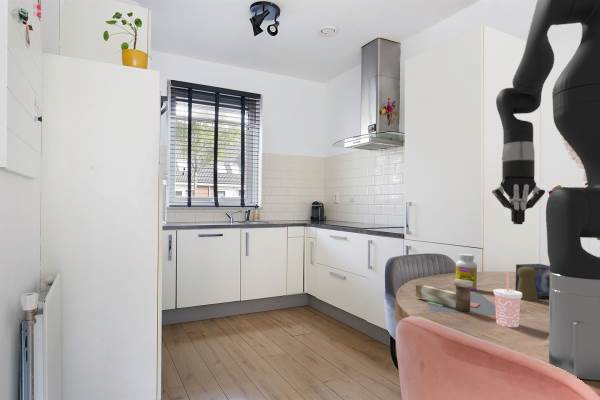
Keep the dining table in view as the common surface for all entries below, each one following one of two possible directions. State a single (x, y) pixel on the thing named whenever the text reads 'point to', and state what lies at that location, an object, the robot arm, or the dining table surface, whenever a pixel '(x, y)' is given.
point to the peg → (448, 294)
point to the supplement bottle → (467, 269)
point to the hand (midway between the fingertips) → (518, 224)
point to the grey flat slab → (476, 306)
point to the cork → (527, 283)
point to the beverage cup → (507, 306)
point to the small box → (538, 279)
